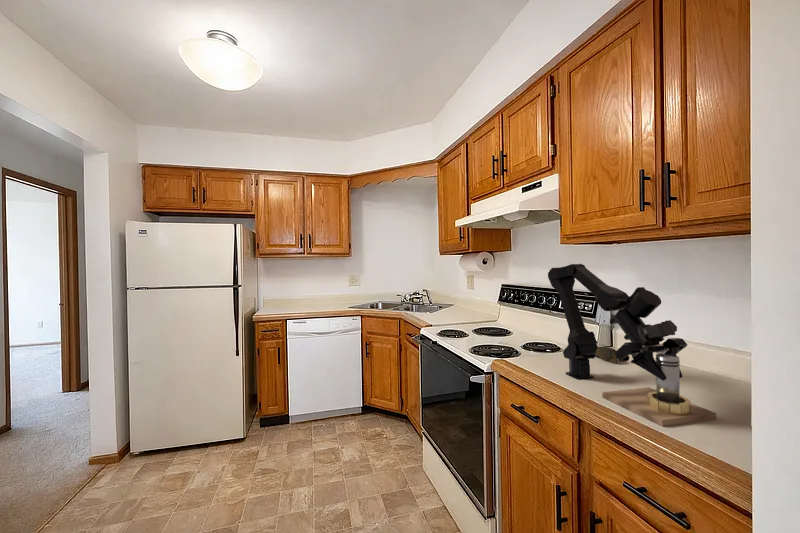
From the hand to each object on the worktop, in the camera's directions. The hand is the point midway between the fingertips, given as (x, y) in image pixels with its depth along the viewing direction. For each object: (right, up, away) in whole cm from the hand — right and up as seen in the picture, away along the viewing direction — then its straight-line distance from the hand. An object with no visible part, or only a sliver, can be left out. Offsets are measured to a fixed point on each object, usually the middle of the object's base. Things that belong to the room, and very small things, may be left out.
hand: (672, 378), depth 90 cm
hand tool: (+13, -9, +56) cm, 58 cm away
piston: (0, -7, +1) cm, 7 cm away
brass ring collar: (0, -8, +1) cm, 8 cm away
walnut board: (-1, -9, +5) cm, 11 cm away
